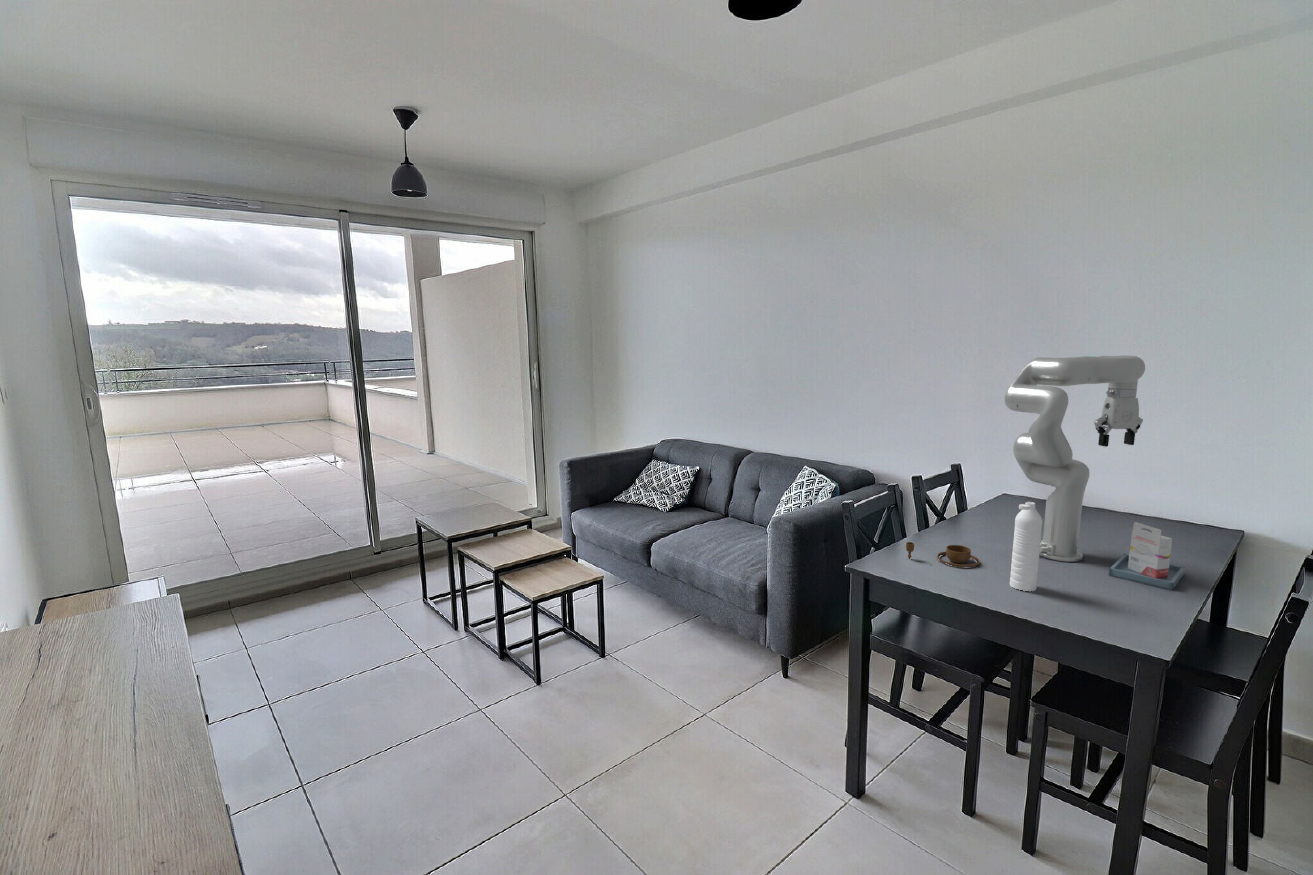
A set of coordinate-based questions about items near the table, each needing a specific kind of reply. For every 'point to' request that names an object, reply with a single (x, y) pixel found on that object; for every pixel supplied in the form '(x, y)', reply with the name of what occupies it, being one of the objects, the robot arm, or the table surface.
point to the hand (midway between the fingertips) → (1115, 445)
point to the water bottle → (1026, 548)
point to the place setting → (951, 554)
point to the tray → (1167, 583)
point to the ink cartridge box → (1149, 551)
